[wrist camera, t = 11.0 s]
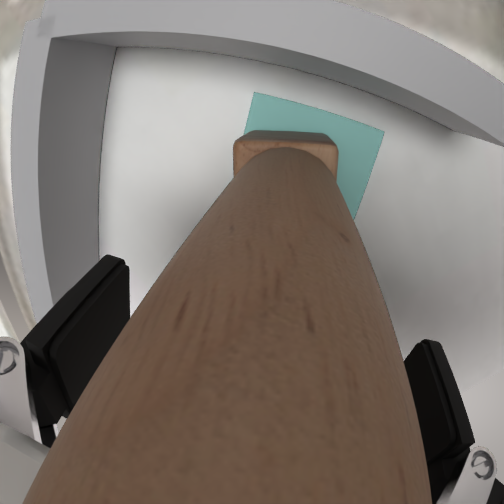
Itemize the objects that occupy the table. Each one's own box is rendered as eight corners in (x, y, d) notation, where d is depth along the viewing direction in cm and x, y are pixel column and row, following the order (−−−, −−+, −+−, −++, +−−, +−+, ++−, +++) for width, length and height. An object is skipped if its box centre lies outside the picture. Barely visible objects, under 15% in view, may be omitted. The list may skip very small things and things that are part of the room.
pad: (383, 131, 12) (384, 131, 12) (299, 342, 18) (299, 344, 18) (254, 92, 12) (254, 92, 12) (205, 317, 19) (205, 319, 18)
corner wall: (463, 94, 10) (526, 101, 6) (347, 358, 19) (353, 421, 14) (95, 14, 11) (31, 0, 6) (77, 279, 19) (36, 322, 15)
